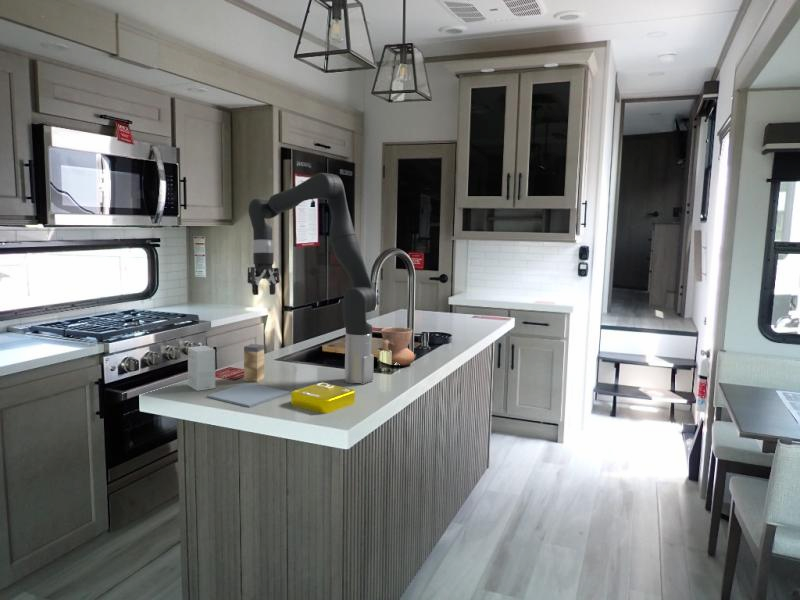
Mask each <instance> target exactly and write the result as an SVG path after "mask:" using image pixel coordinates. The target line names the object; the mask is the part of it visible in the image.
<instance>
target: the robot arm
mask: <svg viewBox="0 0 800 600" xmlns="http://www.w3.org/2000/svg"><path fill="white" fill-rule="evenodd" d="M346 196H347V195H346V191H345V186H344V183H343V180H342V179H341V177H340V176H339V175H337V174H334V173H327V172H319V173H316V174H314V175H313V176H311V177H309V178H308V179H306V180H305V181H303V182H301V183H299V184H297V185H295V186H293V187H291V188H288V189H285V190H283V191H280V192H278V193H275V194H273V195H271V196H270V197H269V199H268V200H267V199H261V198H252V200H251V201H250V202H249V204H248V215H249V220H250V222H251V226H252V230H253V244H252V245H253V246H252V254H253V257H252V259H253V265H254V266H249V267H248V268H247V283H248V284H251V288H252V289H251V293H252V295H253V296H258V295H259V283H260V281H262V280H263V279H264V280H266V281H268V283H269V285H268V286H269V295H273V296H274V295H276V285H277V284H279V283H280V282H281V281H280V269H279V267H273V265H274V244H273V243H274V242H273V226H271V225H269V224H267V222H266V221H265V220H269V219H273V218H275V217H277V216H279V215H280V214H281V213H283V212H287V211H289V210H292V209H295V208H296V207H297V206H299V205H300V204H301V203H303V202H306V201H310V200H315V199H317V200H318V199H320V200H325V201H327V204H328V207H329V210H330V215H331V223H330V227H329V228H330V229H329V241H330V244H331V247H332V251H333V254H334V256H335V258H336V259H337V261H338V262H339V264H340V265H341V266H342V268H343V269H344V270H345V272H346V273H347V275H348V276H349V279H350V281H351V284H352V288H349V289H348V290H346V292H345V293H344V295H343V302H342V315H343V318H342V319H343V326H344V328H345V341H344V342H345V345H344V347H345V351H344V354H345V355H344V381H345V383H348V382H349V383H348V384H353V383H361V384H360V385H365V383H366V384H368V383H371V382H373V381H374V366H375V365H374V363H375V362H374V359H375V358H374V357H375V355H374V354H373V353H372V348H373V347H372V346H373V345H372V343H373V326H372V324H370V323H368V322H367V315H366V314H367V313H370V312H373V311H374V310H375V309H376V307H377V304H378V297H377V293H376V291H375V288H374V285H373V282H372V280H371V278H370V276H369V274H368V271H367V268H366V264H365V262H364V258H363V256H362V252H361V248H360V244H359V241H358V238H357V233H356V231H355V228H354V225H353V222H352V221H353V220H352V217H351V213H350V211H349V206H348V202H347V197H346ZM372 380H373V381H372ZM370 381H371V382H370ZM367 382H368V383H367Z"/></svg>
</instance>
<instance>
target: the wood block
mask: <svg viewBox="0 0 800 600" xmlns="http://www.w3.org/2000/svg"><path fill="white" fill-rule="evenodd" d="M264 379H265V344H257V343H256V344H255V343H250V344H247V345H245V346H243V381H244V382H253V383H259V382H260V381H262V380H264Z"/></svg>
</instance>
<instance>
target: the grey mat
mask: <svg viewBox="0 0 800 600" xmlns="http://www.w3.org/2000/svg"><path fill="white" fill-rule="evenodd" d="M289 394H290V395H291V392H290V391H288V390H283V389H279V388H275V387H270V386H264V385H260V384H255V383H251V382H247V383H244V384H240V385H237V386H233V387H230V388H225V389H223V390H219V391H217V392H213V393H210V394H207V395H206V398H209V399H212V400H213V399H214V400H217V401H222V402H226V403H231V404H235V405H238V406H243V407H248V408H251V407H255V406H257V405H260V404H263V403H266V402H269V401H271V400H275V399H277V398H281V397H284V396H286V395H289Z"/></svg>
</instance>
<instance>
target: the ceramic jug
mask: <svg viewBox="0 0 800 600" xmlns="http://www.w3.org/2000/svg"><path fill="white" fill-rule="evenodd" d="M380 331H381V336H382V339H383V342H382V344H381V345H382V346H381V347H382V351H383V350H385V351H386V350H387V351H388V350H391V351H392V364H393V365H394V364H395V363H396V362H397V363H399V364H400V366H399V367H404V366H408V365H411V364H412V363H413V362H414V360H415V357H416V356H415V353H414V352H413V351H412V349H409V348H408V346H409V344H410V342H411V339H412V335H413V329H412V328H410V327H404V326H402V327H401V326H391V327H384V328H382V329H381V330H380ZM378 357H379V355H378Z"/></svg>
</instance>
